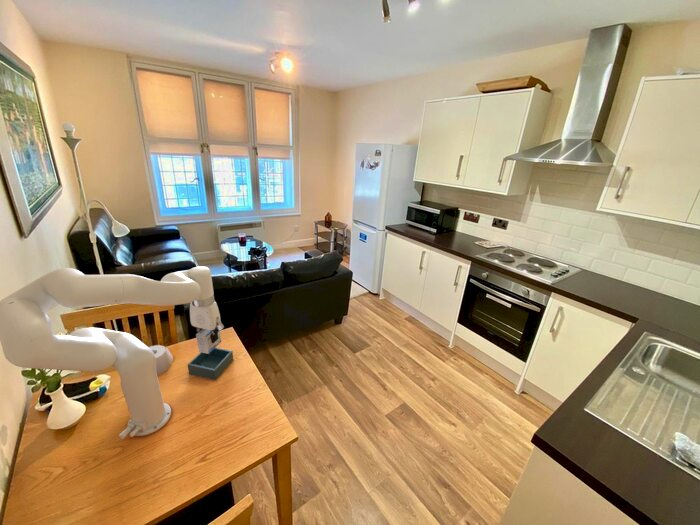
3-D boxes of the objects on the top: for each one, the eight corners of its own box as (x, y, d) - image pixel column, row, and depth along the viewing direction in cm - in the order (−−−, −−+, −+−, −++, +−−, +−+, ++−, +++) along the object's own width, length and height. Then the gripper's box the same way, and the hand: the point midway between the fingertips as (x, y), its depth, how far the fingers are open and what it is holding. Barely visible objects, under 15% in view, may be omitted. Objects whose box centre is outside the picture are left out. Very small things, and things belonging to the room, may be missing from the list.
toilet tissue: (177, 355, 130) (174, 339, 127) (161, 377, 118) (157, 360, 115) (156, 354, 129) (152, 339, 126) (138, 376, 117) (133, 360, 114)
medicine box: (208, 354, 110) (205, 336, 107) (198, 352, 111) (195, 333, 107) (221, 341, 117) (219, 324, 114) (212, 339, 118) (209, 322, 114)
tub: (215, 380, 118) (214, 370, 116) (189, 374, 120) (187, 364, 118) (233, 359, 130) (232, 350, 128) (208, 354, 132) (207, 345, 130)
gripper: (175, 300, 104) (183, 341, 111) (216, 308, 100) (222, 350, 107) (191, 291, 110) (197, 330, 118) (229, 298, 107) (234, 338, 114)
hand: (209, 339), depth 112 cm, fingers closed on medicine box, 4 cm apart
